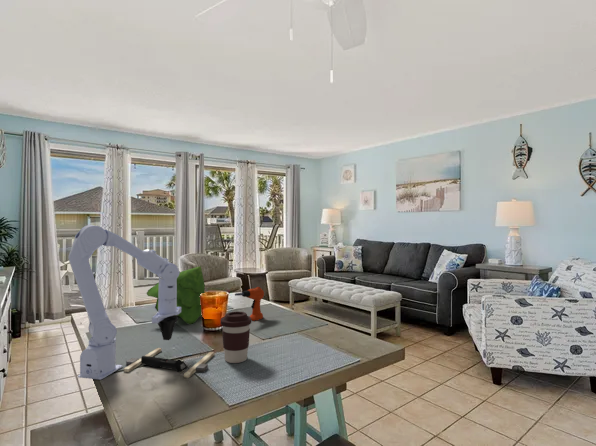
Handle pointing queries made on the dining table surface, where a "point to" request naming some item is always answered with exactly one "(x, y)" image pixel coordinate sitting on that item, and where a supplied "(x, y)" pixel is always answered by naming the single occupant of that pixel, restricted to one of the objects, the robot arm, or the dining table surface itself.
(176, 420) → the dining table surface
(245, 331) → the coffee cup
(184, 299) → the decorative tree
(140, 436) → the dining table surface
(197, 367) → the joist track
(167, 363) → the black flashlight
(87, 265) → the robot arm
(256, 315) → the toy drill
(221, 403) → the dining table surface
